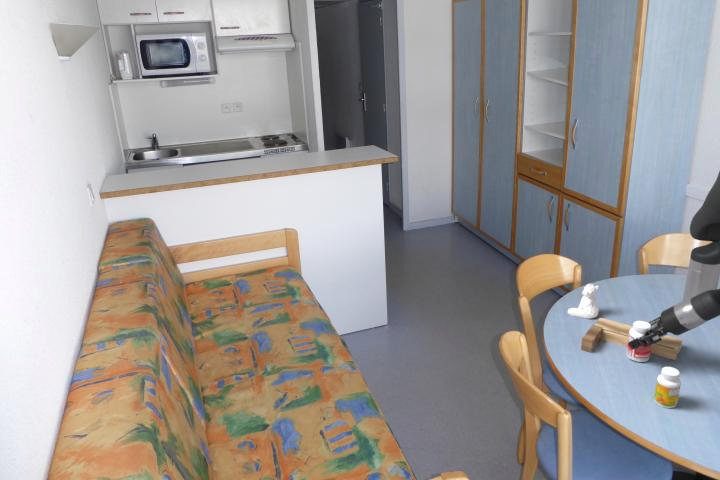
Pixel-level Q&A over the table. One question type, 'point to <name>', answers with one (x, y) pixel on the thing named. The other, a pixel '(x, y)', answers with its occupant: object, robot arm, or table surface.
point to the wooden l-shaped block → (620, 335)
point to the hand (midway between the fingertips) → (633, 340)
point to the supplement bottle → (667, 388)
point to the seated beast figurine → (586, 304)
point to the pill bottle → (640, 352)
